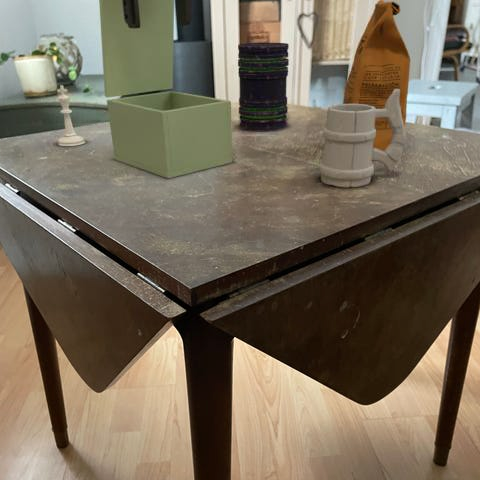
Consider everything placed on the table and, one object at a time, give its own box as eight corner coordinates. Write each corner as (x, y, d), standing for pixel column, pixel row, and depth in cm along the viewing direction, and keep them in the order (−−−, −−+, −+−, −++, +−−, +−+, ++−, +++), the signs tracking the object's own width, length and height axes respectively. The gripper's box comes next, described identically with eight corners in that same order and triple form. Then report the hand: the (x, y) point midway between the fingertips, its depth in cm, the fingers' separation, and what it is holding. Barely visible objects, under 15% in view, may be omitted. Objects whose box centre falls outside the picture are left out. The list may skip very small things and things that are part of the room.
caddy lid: (174, -25, 82) (156, -30, 84) (100, -25, 75) (82, -31, 77) (172, 88, 92) (156, 80, 95) (107, 97, 85) (91, 88, 88)
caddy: (232, 162, 87) (231, 101, 82) (168, 178, 80) (162, 112, 75) (176, 146, 97) (171, 90, 92) (114, 159, 90) (106, 100, 85)
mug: (313, 173, 80) (317, 87, 74) (390, 170, 81) (401, 84, 75) (324, 189, 74) (330, 95, 68) (408, 185, 75) (422, 92, 69)
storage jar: (251, 120, 116) (251, 42, 109) (294, 123, 112) (296, 42, 105) (230, 129, 109) (228, 46, 101) (275, 132, 105) (277, 47, 97)
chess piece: (63, 140, 103) (52, 83, 98) (88, 140, 103) (79, 83, 98) (54, 146, 99) (43, 87, 94) (80, 146, 99) (71, 87, 93)
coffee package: (393, 143, 96) (411, -1, 85) (403, 161, 85) (425, 0, 74) (337, 142, 97) (347, 0, 86) (340, 160, 87) (352, 1, 75)
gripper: (177, -108, 75) (184, 24, 84) (83, -119, 67) (102, 28, 76) (210, -116, 71) (214, 25, 79) (114, -129, 63) (130, 30, 71)
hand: (159, 26), depth 77 cm, fingers open, 8 cm apart
